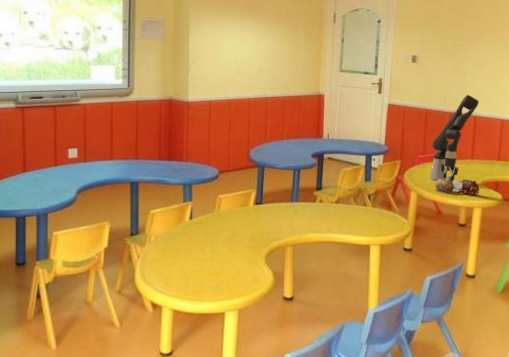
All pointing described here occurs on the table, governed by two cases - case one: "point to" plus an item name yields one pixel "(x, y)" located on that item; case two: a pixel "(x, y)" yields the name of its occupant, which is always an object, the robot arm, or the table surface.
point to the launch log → (444, 185)
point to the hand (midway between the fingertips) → (448, 179)
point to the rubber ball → (449, 179)
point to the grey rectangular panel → (450, 192)
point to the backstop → (457, 185)
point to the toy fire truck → (469, 187)
